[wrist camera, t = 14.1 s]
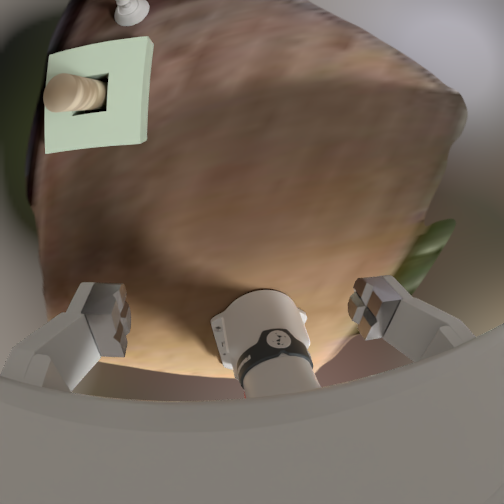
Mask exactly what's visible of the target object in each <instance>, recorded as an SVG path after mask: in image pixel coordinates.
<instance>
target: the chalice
mask: <svg viewBox="0 0 504 504" xmlns="http://www.w3.org/2000/svg"><path fill="white" fill-rule="evenodd" d="M116 3H117V5H118V6H117V8H116V11H115V16H114V18H115V21H116V22H117V23H118V24H120V25H122V26H131V25H134V24H137V23H139V22H140V21H142V20H143V19H144V18H145V17H146V16H147V14H148V12H149V4H148V2H147V1H146V0H117V2H116Z"/></svg>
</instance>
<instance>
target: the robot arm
mask: <svg viewBox="0 0 504 504" xmlns="http://www.w3.org/2000/svg"><path fill="white" fill-rule="evenodd" d="M353 288H354V291H355V292H354V293H353V294H352V295H351V296H350V299H349V302H348V313H349V316H350V318H351V319H352V321H354V322H356V323H357V324H358V328H357V329H358V330H359V332H360V333H361V335H362V336H363V338H364V339H365V340H371V339H377V338H382V337H383V339H384V340H386V341H387V342H388V343H390V344H391V345H392V346H394V347H395V348H397V349H398V350H399V351H401V352H402V353H403V354H405V355H406V356H407V357H408V358H410V359H411V360H413V361H414V363H411V364H409V365H405V366H402V367H399V368H396V369H393V370H389V371H386V372H383V373H379V374H376V375H372V376H369V377H365V378H361V379H357V380H353V381H349V382H344V383H340V384H336V385H331V386H326V387H320V385H319V383H318V381H317V378H316V376H315V374H314V372H313V363H312V360H311V356H310V353H309V352H308V350H307V349H308V347H309V345H310V340H309V337H308V334H307V331H306V328H305V325H304V324H305V322H306V320H307V316H306V313H305V312H304V311H302V310H300V309H298V308H297V307H296V306H295V304H294V302H293V301H292V299H291V298H290V297H288V296H287V295H285V294H283V293H281V292H278V291H274V290H259V291H254V292H250V293H248V294H245V295H243V296H241V297H239V298H238V299H236V300H235V301H234V302H232V303H231V304H230V305H229V307H228V308H227V309H226V310H225V311H224V312H222V313H220V314H218V315H216V316H214V317H213V318H212V319H211V321H210V322H211V326H212V330H213V333H214V337H215V340H216V343H217V347H218V350H219V353H220V357H221V360H222V363H223V366H224V367H225V368H228V369H232V370H233V372H234V376H235V378H236V379H238V380H239V382H240V383H241V386H242V388H243V389H244V395H245V398H244V399H231V400H216V401H145V400H129V399H117V398H107V397H98V396H90V395H83V394H76V393H72V392H71V391H72V390H73V389H74V388H75V387H76V385H77V384H78V383H79V382H80V381H81V379H83V377H84V376H85V375H86V374H87V373H88V372H89V370H90V369H91V368H92V367H93V366H94V365H95V364H96V363H97V361H98V360H99V359H100V358H101V356H106V357H125V353H126V348H127V343H128V342H127V338H126V335H127V334H128V333H129V332H130V327H131V312H130V307H129V304H128V303H127V302H126V301H125V299H126V296H127V293H126V288H125V285H124V284H123V283H98V282H96V283H95V282H83V283H81V284H80V285H79V287H78V289H77V291H76V293H75V295H74V297H73V299H72V301H71V303H70V305H69V307H68V309H67V311H66V313H64V312H62V313H60V314H59V315H57V316H56V317H54V318H53V319H52V320H50V321H49V322H47V323H46V324H44V325H43V326H42V327H41V328H39V329H37V330H36V331H35V332H33V333H32V334H30V335H29V336H28V337H26V338H25V339H24V340H22V341H21V342H20V343H18V344H17V345H15V346H14V347H13V348H12V350H11V352H10V354H9V356H8V358H7V361H6V363H5V365H4V367H3V370H2V372H1V374H0V504H504V323H503V324H501V325H499V326H498V327H496V328H494V329H492V330H490V331H488V332H486V333H484V334H482V335H480V336H478V337H475V336H474V334H472V332H471V331H470V330H469V329H468V328H467V327H466V326H465V324H464V323H463V322H462V321H461V320H460V319H458V318H456V317H454V316H451V315H450V314H448V313H446V312H444V311H442V310H440V309H438V308H436V307H434V306H432V305H430V304H428V303H426V302H424V301H421V300H419V299H417V298H413V297H412V296H411V295H410V294H409V293H408V292H407V291H406V290H405V289H404V288H403V287H402V286H401V285H400V283H399V282H398V281H397V280H396V279H395V278H394V277H393V276H390V275H385V276H378V277H366V278H358V279H357V280H356V281H355V284H354V287H353Z"/></svg>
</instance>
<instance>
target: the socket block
mask: <svg viewBox="0 0 504 504" xmlns="http://www.w3.org/2000/svg"><path fill="white" fill-rule="evenodd" d="M153 47H154V44H153V43H152V41H151V40H150V38H149V37H148V36H146V37H136V38H127V39H120V40H113V41H107V42H101V43H96V44H91V45H86V46H82V47H77V48H73V49H69V50H65V51H62V52H58V53H55V54H51V55H49V61H48V69H47V79H46V86H47V84H48V82H49V81H50V80H51V79H52V78H53V77H54V76H56V75H58V74H61V73H67V74H72V75H77V76H81V77H86V78H90V79H95V80H99V79H105V78H108V90H107V110H106V111H103V112H95V113H88V114H85V110H80V111H67V112H51V111H49V110H48V109H47V108H46V107H45V154H49V153H55V152H62V151H69V150H76V149H84V148H93V147H103V146H115V145H129V144H141V143H142V142H144V141H146V140H147V118H148V99H149V85H150V73H151V64H152V55H153Z"/></svg>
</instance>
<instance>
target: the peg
mask: <svg viewBox="0 0 504 504" xmlns="http://www.w3.org/2000/svg"><path fill="white" fill-rule="evenodd" d="M107 90H108V83H107V82H103V81H99V80H95V79H90V78H86V77H81V76H77V75H72V74H67V73H61V74H58V75H56V76H54V77H53V78H52V79H51V80H50V81H49V82H48V84H47V86H46V88H45V90H44V94H43V101H44V105H45V107H46V108H47V109H48V110H49V111H51V112H67V111H80V110H101V109H105V108H107Z"/></svg>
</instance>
